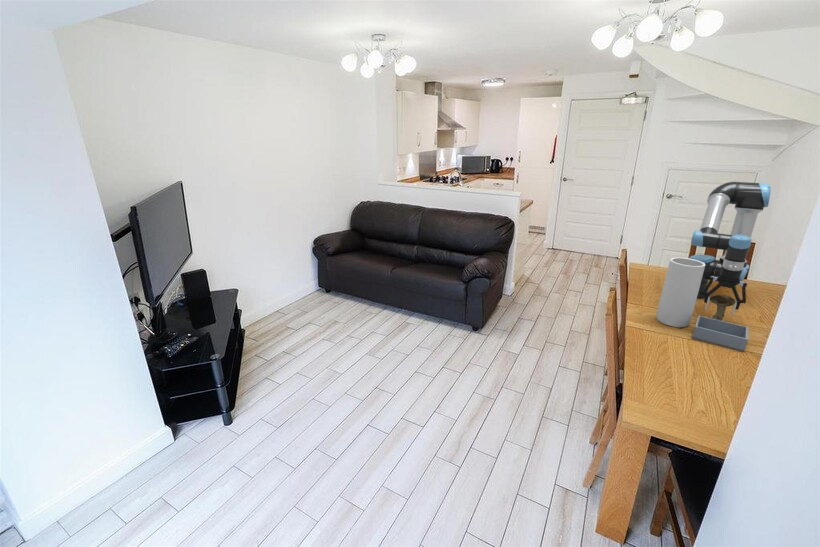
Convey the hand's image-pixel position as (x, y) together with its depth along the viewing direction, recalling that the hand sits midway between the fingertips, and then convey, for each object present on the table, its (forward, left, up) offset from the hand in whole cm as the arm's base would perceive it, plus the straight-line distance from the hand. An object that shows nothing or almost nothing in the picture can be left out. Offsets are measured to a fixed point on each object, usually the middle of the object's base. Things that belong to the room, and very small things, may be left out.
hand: (718, 311), depth 187 cm
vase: (+10, -17, -7) cm, 21 cm away
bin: (+16, +2, -7) cm, 18 cm away
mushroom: (0, 0, -7) cm, 7 cm away
